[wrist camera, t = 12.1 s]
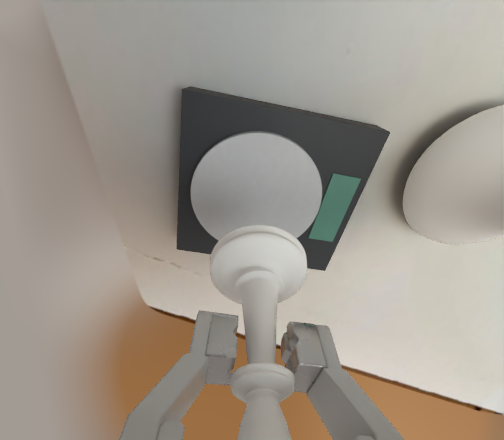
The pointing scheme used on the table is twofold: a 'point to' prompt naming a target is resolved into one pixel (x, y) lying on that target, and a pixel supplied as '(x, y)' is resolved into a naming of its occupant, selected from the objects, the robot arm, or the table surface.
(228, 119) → the scale
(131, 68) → the table surface
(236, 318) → the robot arm
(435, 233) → the flower in vase
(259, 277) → the chess piece
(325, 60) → the table surface
